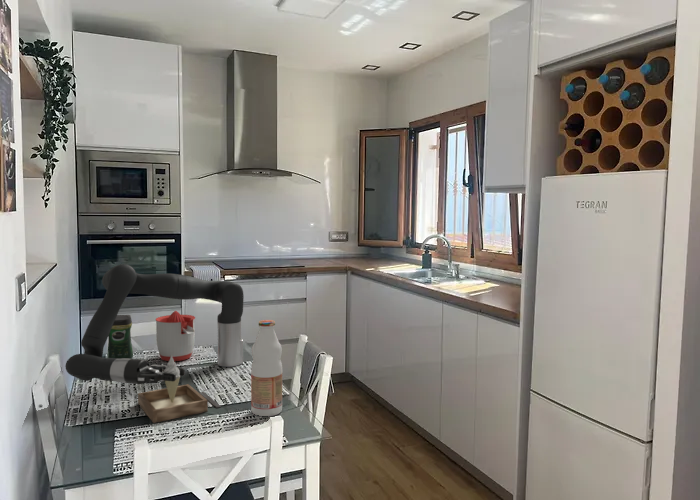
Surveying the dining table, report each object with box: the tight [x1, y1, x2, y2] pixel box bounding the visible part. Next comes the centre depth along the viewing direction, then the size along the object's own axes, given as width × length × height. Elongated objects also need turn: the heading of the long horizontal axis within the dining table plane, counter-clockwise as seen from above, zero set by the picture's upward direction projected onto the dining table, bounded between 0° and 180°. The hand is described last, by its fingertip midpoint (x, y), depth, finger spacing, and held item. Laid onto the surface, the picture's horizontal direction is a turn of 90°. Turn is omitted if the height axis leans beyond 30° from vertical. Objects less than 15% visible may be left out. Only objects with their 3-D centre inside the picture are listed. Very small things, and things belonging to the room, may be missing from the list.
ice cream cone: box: [162, 355, 181, 403], centre depth 161 cm, size 5×5×15 cm
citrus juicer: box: [155, 310, 196, 362], centre depth 215 cm, size 16×17×20 cm
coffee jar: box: [106, 314, 134, 359], centre depth 213 cm, size 10×8×19 cm
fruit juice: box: [250, 319, 283, 417], centre depth 158 cm, size 9×9×28 cm
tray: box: [137, 383, 222, 424], centre depth 163 cm, size 21×18×4 cm
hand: (179, 374), depth 160 cm, fingers closed on ice cream cone, 5 cm apart
